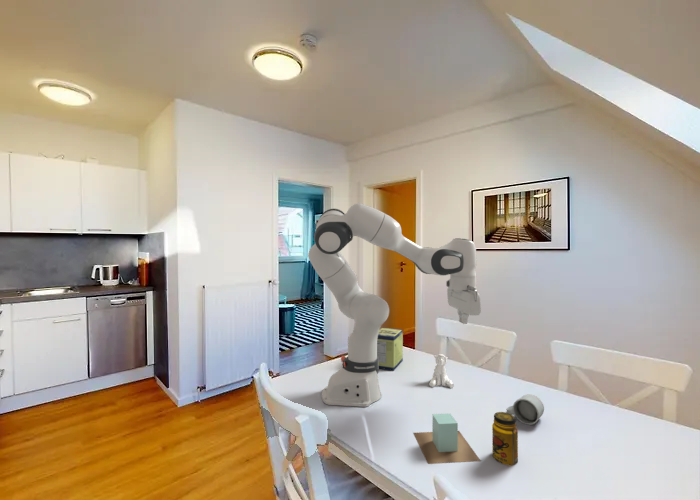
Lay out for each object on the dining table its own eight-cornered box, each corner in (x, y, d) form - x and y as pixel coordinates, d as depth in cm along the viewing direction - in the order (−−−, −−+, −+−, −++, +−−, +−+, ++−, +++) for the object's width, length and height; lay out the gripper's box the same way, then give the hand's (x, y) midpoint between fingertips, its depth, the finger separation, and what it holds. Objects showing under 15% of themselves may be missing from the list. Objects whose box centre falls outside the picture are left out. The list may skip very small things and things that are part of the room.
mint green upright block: (457, 451, 89) (457, 423, 89) (438, 452, 89) (438, 424, 89) (450, 439, 94) (450, 413, 94) (432, 440, 94) (432, 414, 94)
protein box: (403, 360, 163) (403, 329, 163) (394, 371, 149) (393, 337, 149) (382, 357, 167) (382, 327, 167) (372, 367, 153) (372, 334, 153)
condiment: (486, 462, 86) (487, 416, 86) (496, 447, 93) (496, 404, 92) (517, 474, 81) (517, 426, 81) (525, 458, 88) (525, 413, 88)
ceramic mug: (545, 418, 108) (545, 395, 108) (538, 428, 102) (538, 403, 102) (511, 408, 115) (510, 386, 115) (502, 417, 109) (502, 393, 109)
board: (427, 467, 84) (427, 463, 84) (413, 436, 98) (413, 432, 98) (480, 464, 85) (480, 460, 85) (459, 434, 99) (459, 430, 99)
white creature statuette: (429, 387, 132) (429, 357, 132) (427, 379, 140) (427, 350, 140) (454, 388, 131) (454, 358, 130) (450, 380, 139) (450, 351, 139)
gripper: (486, 287, 107) (486, 330, 107) (460, 281, 127) (460, 316, 128) (467, 287, 107) (467, 330, 107) (444, 281, 127) (444, 317, 127)
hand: (463, 323), depth 117 cm, fingers closed
